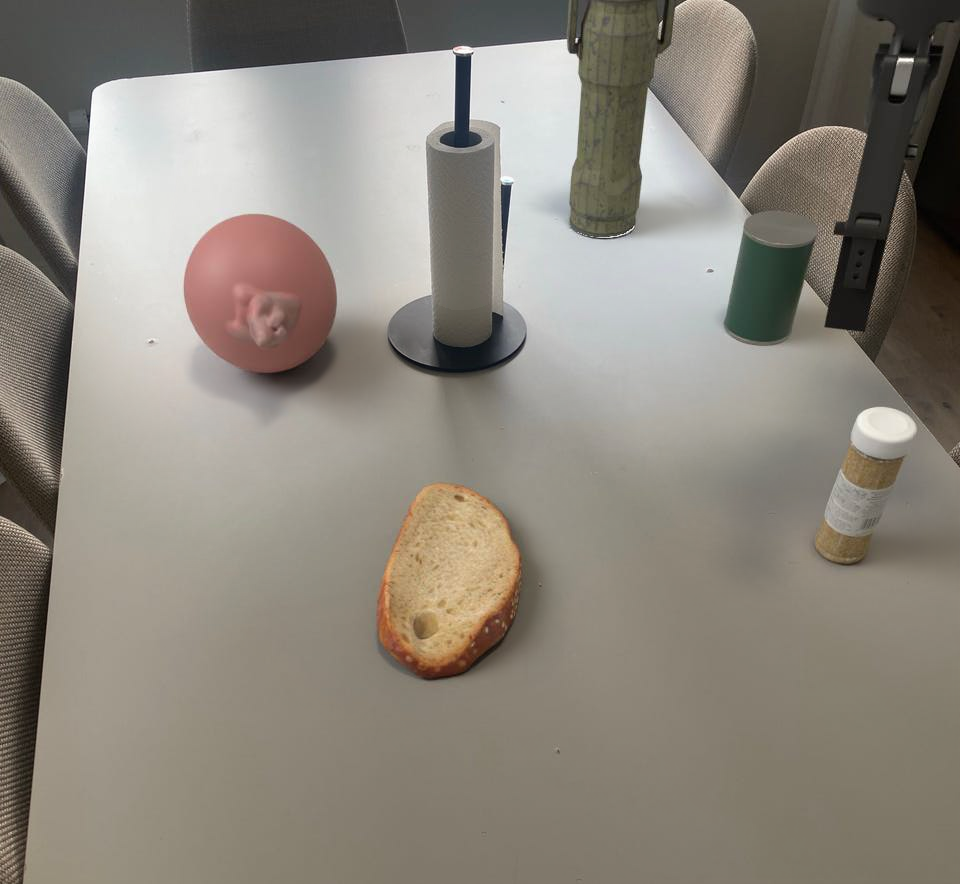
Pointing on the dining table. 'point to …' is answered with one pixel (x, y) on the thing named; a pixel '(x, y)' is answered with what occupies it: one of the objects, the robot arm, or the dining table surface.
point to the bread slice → (448, 582)
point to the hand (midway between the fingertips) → (855, 287)
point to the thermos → (612, 108)
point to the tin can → (769, 276)
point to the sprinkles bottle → (864, 483)
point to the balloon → (260, 293)
